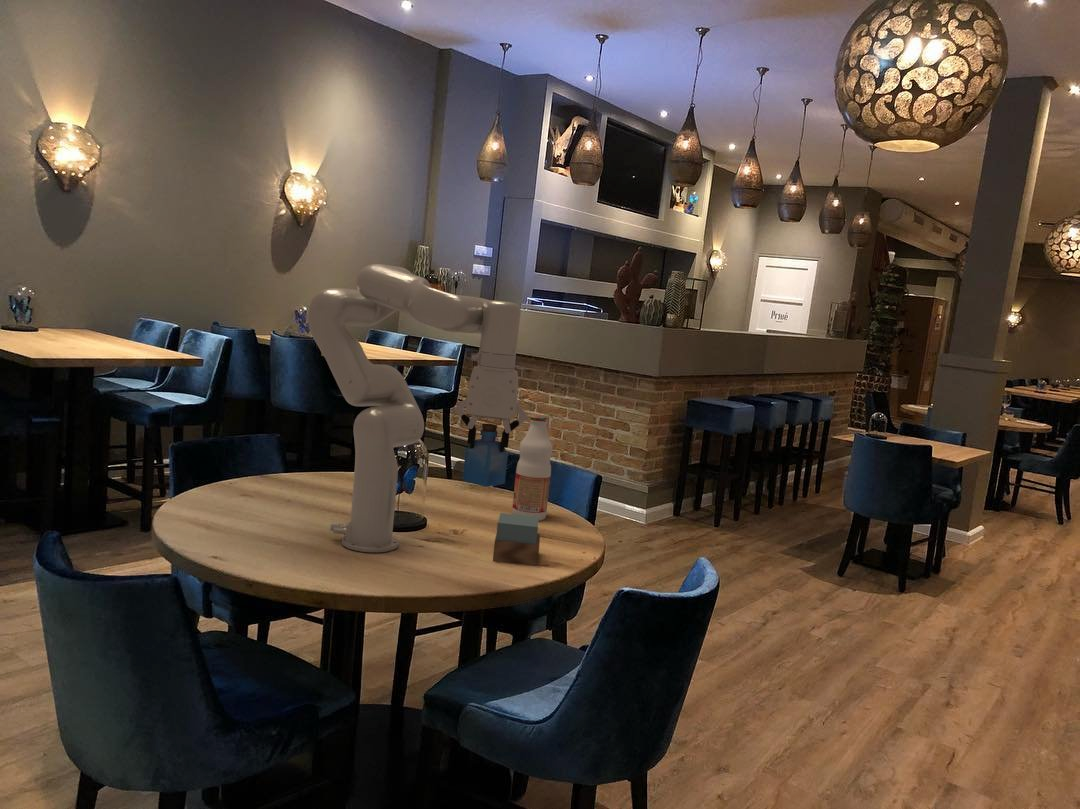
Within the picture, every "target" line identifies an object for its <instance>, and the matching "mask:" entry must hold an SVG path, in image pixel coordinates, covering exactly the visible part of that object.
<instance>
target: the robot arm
mask: <svg viewBox="0 0 1080 809" xmlns="http://www.w3.org/2000/svg"><path fill="white" fill-rule="evenodd" d="M356 287H357V289H352V288H343V287H332V288H325V289H322V290H320V291H318V292H317V293H316V294H314V296H313V297H312V299H311V301H310V304H309V306H308V310H307V322H308V323H307V324H308V328H309V331H310V334H311V336H312V338H313V340H314V342H315V344H316V346H317V347H318V349H319V350H320V352H321V354H322V356H323V357H324V358H325V361H326V362H327V365H328V367H329V369H330V371H331V374H332V376H333V378H334V380H335V382H336V384H337V386H338V388H339V390H340V392H341V394H342V396H343V398H344V400H345V401H346V402H347V403H348V404H349V405H351V406H352V407H353V406H354V407H368V408H365V409H363V410H362V411H360V413H358V414H357V416H356V417H355V419H354V422H353V427H352V428H353V438H354V439H353V440H354V452H355V454H354V457H355V458H354V472H353V476H354V477H353V486H352V497H351V498H352V499H351V511H350V521H349V522H345V523H340V522H334V521H333V522H331V524H330V532H331V531H332V532H333V534H340V535H343V537H341V545H342V546H344V548H347V549H349V550H351V551H355V552H362V553H387V552H391V551H394V550H396V549H397V548H398V547H399V539H397V538H396V537H394V536H393V530H394V520H395V519H394V518H395V508H396V496H397V489H398V488H397V487H398V475H399V474H398V473H399V466H398V460H397V457H396V454H395V450H394V449H395V448H400V447H405V446H410V445H411V446H412V445H413V444H415V443H417V442H418V441H419V440H420V439H421V438H422V437H423V434H424V432H425V431H424V430H425V421H424V417H423V414H422V411H421V410H420V407H419V404H418V403H417V401H416V399H415V397H414V395H413V393H412V392H411V389H410V387H409V385H408V383H407V381H406V379H405V378H404V376H403V375H402V373H401V372H400V371H399V370H398V369H396V367H393V366H391V365H388V364H383V363H382V364H380V363H379V364H376V363H375V364H374V363H373V362H371V361H370V360H369V359H368V356H367V355H366V353H365V351H364V349H363V346H362V345H361V344H360V342H359V341H358V339H357V338H356V337H355V336H354V335H353V334H352V333H351V332H350V331H349V330H348V329H347V328H346V327H355V328H356V327H357V328H367V327H373V326H375V325H377V324H379V323H380V322H382V321H384V320H385V319H387V318H389V317H390V316H391V315H393V314H394V313H396V312H400V313H404V314H405V315H408V316H410V317H411V318H412V319H414V320H415V321H417V322H419V323H422V324H425V325H427V326H430V327H433V328H435V329H439V330H441V331H445V332H449V333H460V334H461V333H464V334H480V342H479V351H478V352H477V353H471V357H470V360H471V361H474V362H476V363H477V365H476V366H475V365H474V366H473V368H472V371H471V375H470V378H469V384H468V391H467V396H466V397H465V398H464V399H463V400H462V401H461V402H460V403H458V404H457V406H455V407H454V409H453V411H454V413H455V414H456V415H457V416H458V417H459V418H460V419H461V421H463V423H464V424H465V426H467V429H468V433H467V444H468V445H469V446H470V449H472V448H474V441H475V440H476V437H477V428H476V423H477V420H478V418H485V419H486V418H487V419H495V420H502V424H503V427H504V428H503V431H502V432H501V438H500V439H501V441H500V442H501V448H500V451H501V452H504V448H505V449H508V448H509V440H510V433H512V431H514V430H515V429H516V428H517V427H518V426H520V425H521V424H523V423H524V422H525V421H527V420H528V418H529V417H528V414H527V413H526V411H525V410H524V408H522V406H521V405H520V403H519V402H518V396H519V373H518V370H515V367H516V359H517V358H516V357H517V349H518V340H519V330H520V324H521V323H520V322H521V307H520V305H519V304H518V303H515V302H510V301H504V300H503V301H502V300H494V299H493V300H489V299H487V298H482V297H476V296H470V295H463V294H462V295H461V294H453V293H450V292H445V291H443V290H438V289H436V288H433V287H432V286H431V284H430V282H429V281H428V279H426V278H425V277H423V276H419V275H415V274H413V273H412V272H411V271H410V270H408V269H406V268H405V267H402V266H395V265H388V264H384V263H383V264H382V263H373V264H369V265H366V266H365V267H363V268H361V270H359V272H358V274H357V276H356ZM464 409H465V410H466V412H465V411H464ZM516 414H518V416H519V417H518V418H516V419H514V418H515V417H516ZM470 416H471V417H470ZM513 419H514V420H513ZM510 420H513V421H512V422H511V421H510Z"/></svg>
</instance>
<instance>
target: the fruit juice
mask: <svg viewBox="0 0 1080 809" xmlns="http://www.w3.org/2000/svg"><path fill="white" fill-rule="evenodd" d="M529 420H530V425H529V427H528V430H527V432H526V435H524V437H523V438H522V440H521V441H520V443H519V446H518V447H519V450H518V451H519V460H518V461H517V465H516V470H515V479H514V490H513V497H512V506H511V508H512V509H511V514H515V515H524V516H532V517H539V521H538V522H540V521H544V520H545V519H546V517H547V511H548V509H547V508H548V501H549V492H550V484H551V475H552V465H551V457H552V454H553V450H554V449H553V448H554V446H553V444H552V442H551V440H550V436H549V432H548V427H547V426H548V425H547V424H548V422H549V417H548V416H547V415H541V414H531V415H530V417H529Z"/></svg>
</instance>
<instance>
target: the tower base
mask: <svg viewBox="0 0 1080 809" xmlns="http://www.w3.org/2000/svg"><path fill="white" fill-rule="evenodd" d="M496 535H497V533H496V534H495V536H496ZM540 539H541V533H539V532H537V541H536V544H527V543H518V542H509V541H500V540H496V537H495V538H494V544H493V555H492V562H496V563H497V562H498V563H506V564H515V565H522V566H523V565H525V566H534V567H538V562H539V554H540V543H541V542H540V541H541V540H540Z"/></svg>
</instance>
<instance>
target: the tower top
mask: <svg viewBox="0 0 1080 809" xmlns="http://www.w3.org/2000/svg"><path fill="white" fill-rule="evenodd" d="M539 522H540V521H539V517H532V516H524V515H515V514H512V513H505V512H500V513H499V516H498V521H497V528H496V534H497V535H496V534H495V538H496V540H500V541H509V542H518V543H527V544H536V541H537V533H539V532H538V530H539Z"/></svg>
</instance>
